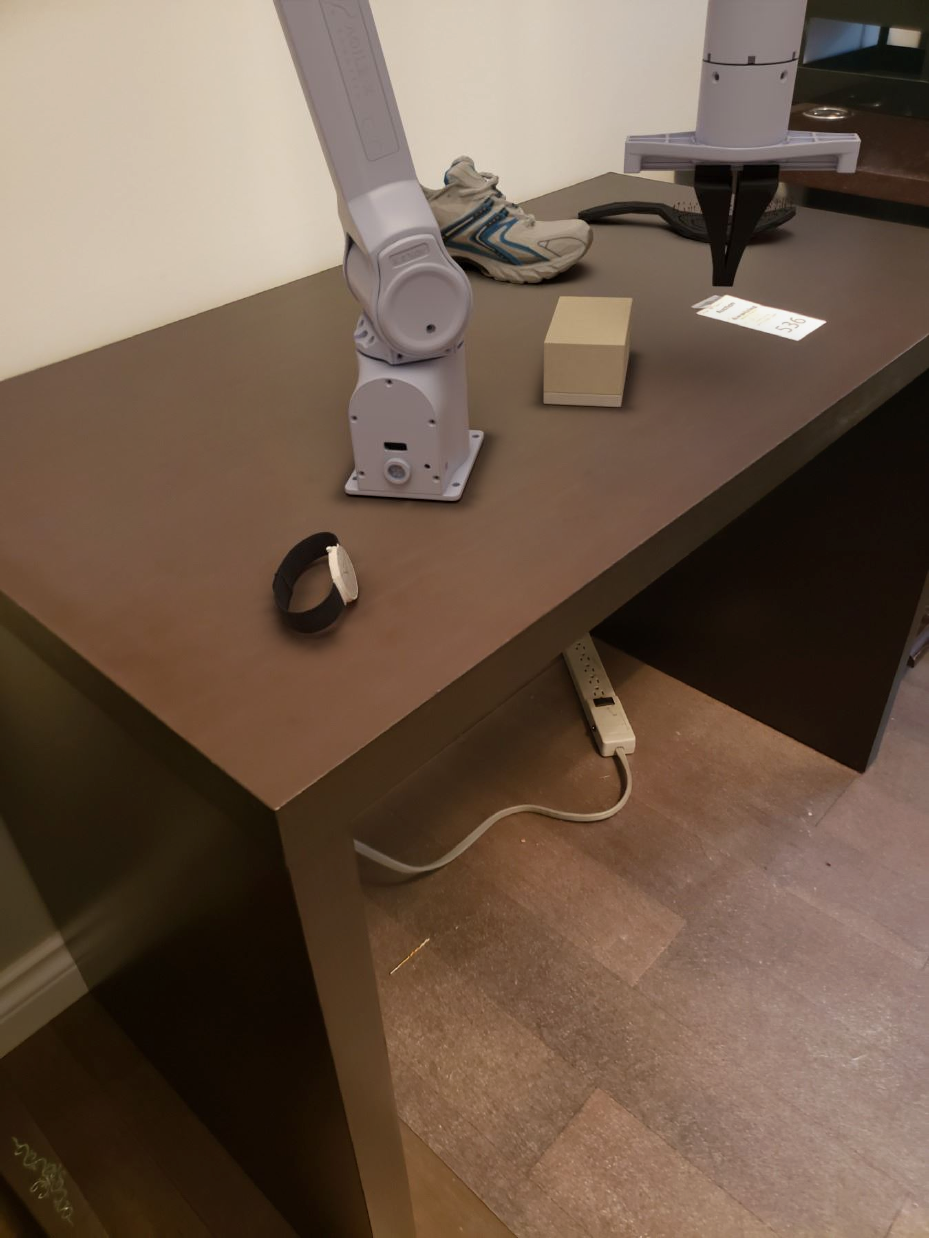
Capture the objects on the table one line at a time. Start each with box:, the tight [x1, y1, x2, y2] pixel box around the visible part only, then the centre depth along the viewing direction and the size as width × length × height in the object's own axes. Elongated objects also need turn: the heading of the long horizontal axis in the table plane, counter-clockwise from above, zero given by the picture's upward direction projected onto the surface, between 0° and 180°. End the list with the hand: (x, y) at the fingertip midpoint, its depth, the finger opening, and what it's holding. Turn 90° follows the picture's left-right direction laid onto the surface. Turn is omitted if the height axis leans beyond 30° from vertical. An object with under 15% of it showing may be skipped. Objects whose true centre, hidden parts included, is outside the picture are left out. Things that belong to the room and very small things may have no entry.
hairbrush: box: [577, 195, 797, 243], centre depth 106 cm, size 8×4×25 cm
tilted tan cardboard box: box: [543, 295, 634, 408], centre depth 75 cm, size 10×5×6 cm
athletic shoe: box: [417, 155, 594, 285], centre depth 97 cm, size 10×23×12 cm, turn 78°
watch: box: [271, 531, 359, 635], centre depth 53 cm, size 8×5×4 cm, turn 3°
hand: (722, 282), depth 66 cm, fingers closed
